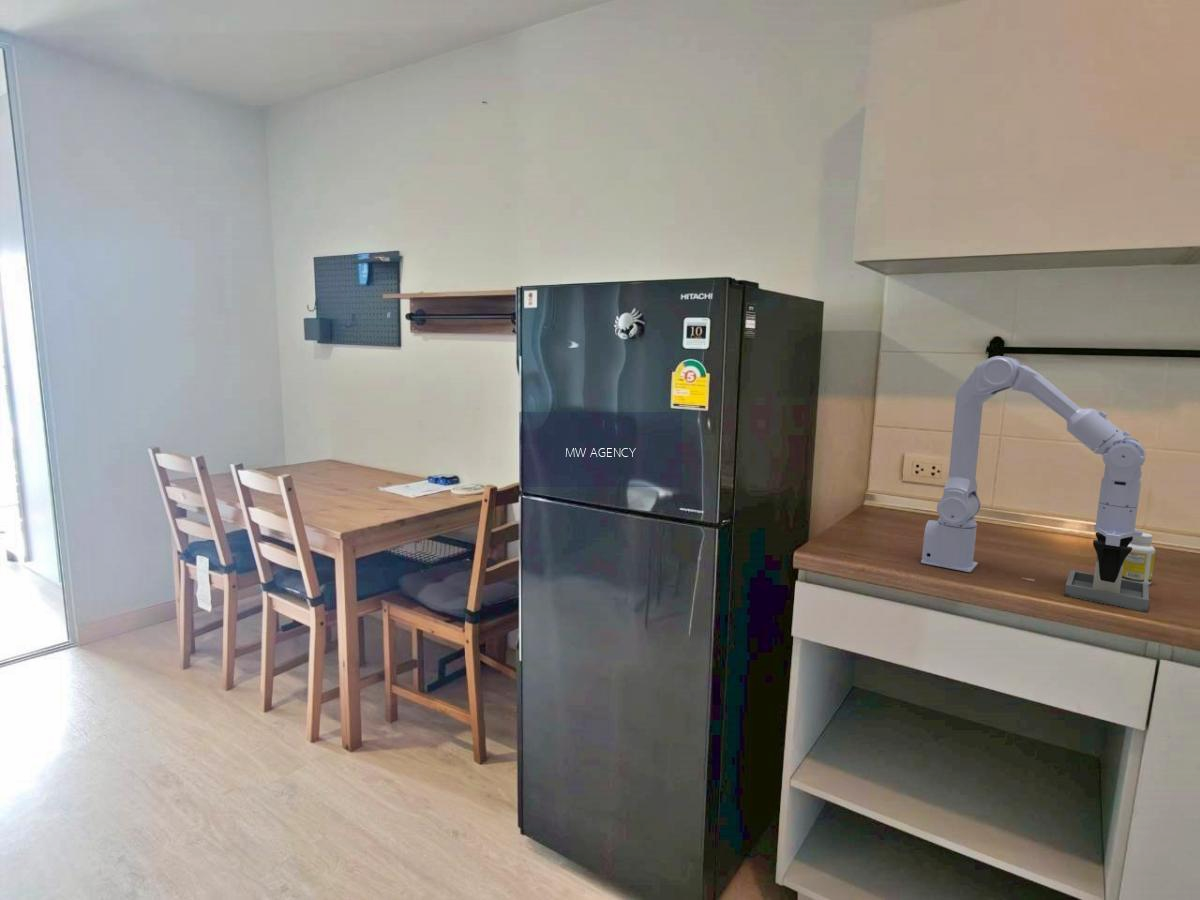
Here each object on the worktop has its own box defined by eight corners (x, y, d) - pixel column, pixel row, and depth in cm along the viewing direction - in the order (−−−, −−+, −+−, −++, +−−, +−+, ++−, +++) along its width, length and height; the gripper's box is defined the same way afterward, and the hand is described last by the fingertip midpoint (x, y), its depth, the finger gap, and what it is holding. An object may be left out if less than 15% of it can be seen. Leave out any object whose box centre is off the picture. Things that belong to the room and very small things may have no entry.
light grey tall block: (1091, 592, 126) (1096, 555, 125) (1093, 587, 129) (1097, 551, 128) (1118, 597, 123) (1124, 560, 122) (1119, 592, 126) (1124, 555, 125)
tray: (1064, 596, 125) (1065, 584, 125) (1069, 580, 134) (1070, 570, 134) (1147, 612, 118) (1149, 600, 117) (1146, 595, 127) (1148, 583, 127)
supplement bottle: (1135, 577, 138) (1142, 530, 137) (1158, 586, 133) (1165, 537, 131) (1109, 576, 138) (1116, 530, 136) (1131, 585, 132) (1138, 537, 131)
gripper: (1146, 514, 116) (1135, 590, 117) (1145, 501, 127) (1135, 572, 129) (1095, 507, 120) (1085, 581, 122) (1099, 496, 131) (1090, 564, 133)
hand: (1108, 576), depth 125 cm, fingers open, 7 cm apart
